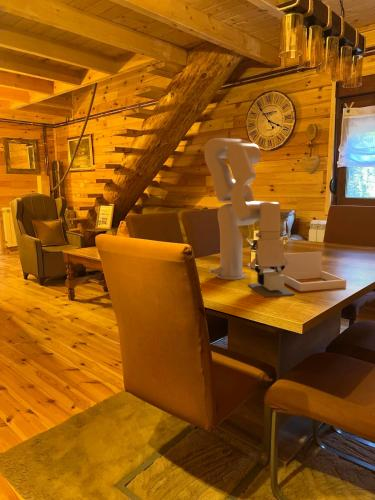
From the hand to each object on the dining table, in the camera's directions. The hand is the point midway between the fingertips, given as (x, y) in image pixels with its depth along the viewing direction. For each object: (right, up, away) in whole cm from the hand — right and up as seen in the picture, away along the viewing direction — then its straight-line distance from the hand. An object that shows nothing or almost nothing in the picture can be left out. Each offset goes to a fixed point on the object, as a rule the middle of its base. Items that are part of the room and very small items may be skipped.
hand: (269, 283), depth 140 cm
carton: (+18, -1, +7) cm, 19 cm away
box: (0, -1, -1) cm, 1 cm away
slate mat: (0, -3, -1) cm, 3 cm away
